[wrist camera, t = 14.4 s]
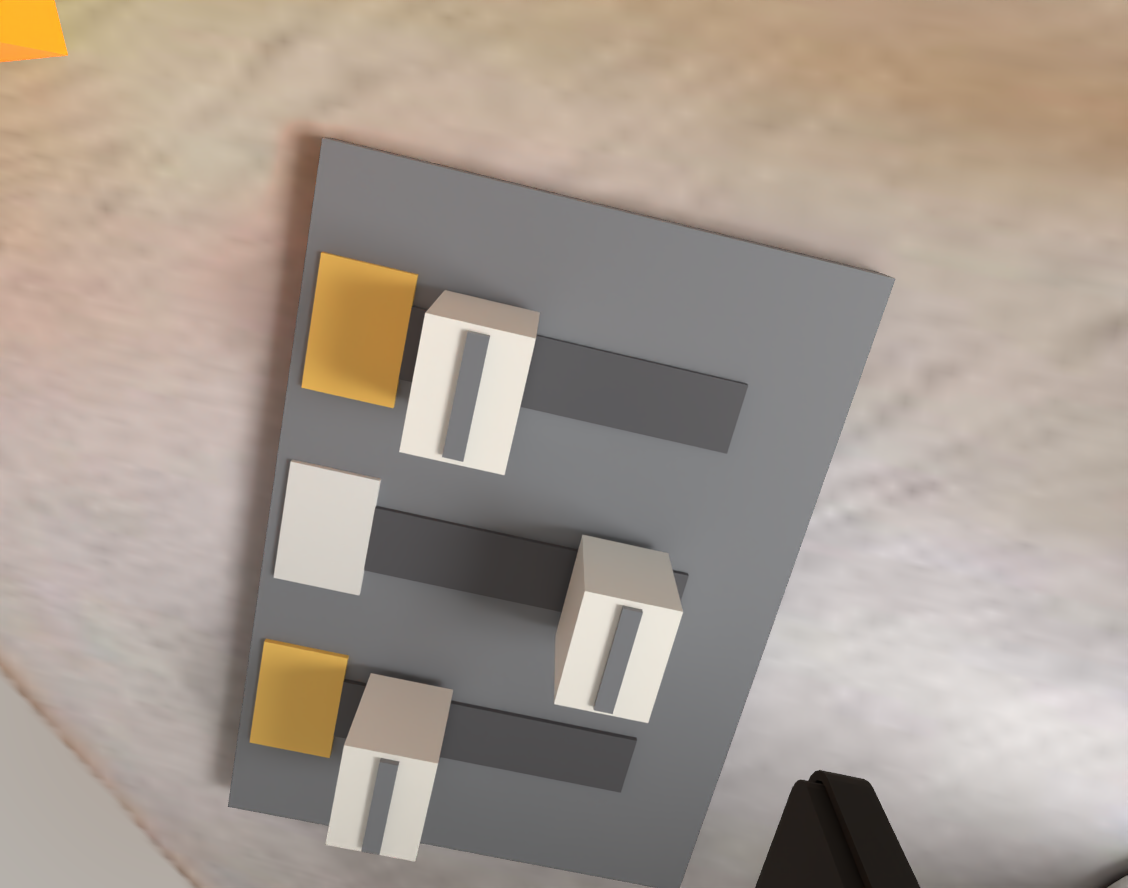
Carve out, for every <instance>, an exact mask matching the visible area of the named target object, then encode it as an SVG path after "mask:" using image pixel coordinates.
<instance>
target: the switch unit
mask: <svg viewBox="0 0 1128 888" xmlns="http://www.w3.org/2000/svg"><path fill="white" fill-rule="evenodd" d="M894 281H895V278H892V277H890V276H887V275H885V274H882V273H878V272H874V271H870V270H866V269H861V268H857V267H853V266H849V265H845V264H841V263H837V262H833V261H829V260H825V259H821V258H817V257H813V256H809V255H805V254H801V253H796V252H792V251H788V250H784V249H780V248H776V247H772V246H768V245H764V244H760V243H756V242H752V241H748V240H744V239H740V238H735V237H731V236H727V235H723V234H719V233H715V232H711V231H707V230H703V229H699V228H695V227H691V226H687V225H683V224H679V223H674V222H670V221H666V220H662V219H658V218H654V217H650V216H646V215H642V214H638V213H634V212H630V211H626V210H622V209H618V208H614V207H609V206H605V205H601V204H597V203H593V202H589V201H585V200H581V199H577V198H573V197H569V196H565V195H561V194H557V193H553V192H548V191H544V190H540V189H536V188H532V187H528V186H524V185H520V184H516V183H512V182H508V181H504V180H500V179H496V178H492V177H487V176H483V175H479V174H475V173H471V172H467V171H463V170H459V169H455V168H451V167H447V166H443V165H439V164H435V163H431V162H427V161H422V160H418V159H414V158H410V157H406V156H402V155H398V154H394V153H390V152H386V151H382V150H378V149H374V148H370V147H366V146H361V145H357V144H353V143H349V142H345V141H341V140H337V139H333V138H322V143H321V150H320V157H319V165H318V172H317V179H316V186H315V193H314V200H313V207H312V214H311V221H310V228H309V235H308V243H307V250H306V257H305V264H304V271H303V278H302V285H301V292H300V299H299V306H298V314H297V321H296V328H295V335H294V342H293V349H292V356H291V363H290V370H289V377H288V384H287V392H286V399H285V406H284V413H283V420H282V427H281V434H280V441H279V448H278V455H277V462H276V470H275V477H274V484H273V491H272V498H271V505H270V512H269V519H268V526H267V533H266V541H265V548H264V555H263V562H262V569H261V576H260V583H259V590H258V597H257V604H256V611H255V619H254V626H253V633H252V640H251V647H250V654H249V661H248V668H247V675H246V682H245V690H244V697H243V704H242V711H241V718H240V725H239V732H238V739H237V746H236V753H235V760H234V768H233V775H232V782H231V789H230V796H229V803H228V807H232V808H238V809H243V810H248V811H253V812H259V813H264V814H269V815H275V816H280V817H285V818H290V819H296V820H301V821H306V822H312V823H317V824H322V825H327V826H329V823H330V817H331V812H332V807H333V801H334V796H335V791H336V785H337V780H338V775H339V769H340V764H341V759H342V753H343V748H344V744H345V741H346V739H347V736H348V733H349V730H350V728H351V725H352V722H353V720H354V717H355V714H356V712H357V709H358V706H359V704H360V701H361V698H362V696H363V693H364V690H365V687H366V685H367V682H368V679H369V677H370V674H371V673H373V674H378V675H383V676H388V677H392V678H397V679H402V680H407V681H412V682H417V683H422V684H427V685H432V686H437V687H442V688H447V689H452V690H453V694H452V699H451V704H450V709H449V713H448V718H447V723H446V728H445V733H444V737H443V742H442V747H441V752H440V757H439V761H438V766H437V770H436V775H435V779H434V783H433V788H432V792H431V797H430V801H429V805H428V810H427V814H426V818H425V823H424V827H423V831H422V836H421V840H420V843H422V844H428V845H433V846H438V847H444V848H449V849H454V850H459V851H465V852H470V853H475V854H481V855H486V856H491V857H496V858H502V859H507V860H512V861H518V862H523V863H528V864H533V865H539V866H544V867H549V868H555V869H560V870H565V871H570V872H576V873H581V874H586V875H592V876H597V877H602V878H607V879H613V880H618V881H623V882H629V883H634V884H639V885H644V886H650V887H655V888H680V886H681V883H682V880H683V877H684V874H685V872H686V869H687V866H688V863H689V860H690V858H691V855H692V852H693V849H694V846H695V843H696V841H697V838H698V835H699V832H700V829H701V826H702V824H703V821H704V818H705V815H706V812H707V810H708V807H709V804H710V801H711V798H712V795H713V793H714V790H715V787H716V784H717V781H718V778H719V776H720V773H721V770H722V767H723V764H724V762H725V759H726V756H727V753H728V750H729V747H730V745H731V742H732V739H733V736H734V733H735V730H736V728H737V725H738V722H739V719H740V716H741V713H742V711H743V708H744V705H745V702H746V699H747V697H748V694H749V691H750V688H751V685H752V682H753V680H754V677H755V674H756V671H757V668H758V665H759V663H760V660H761V657H762V654H763V651H764V649H765V646H766V643H767V640H768V637H769V634H770V632H771V629H772V626H773V623H774V620H775V617H776V615H777V612H778V609H779V606H780V603H781V601H782V598H783V595H784V592H785V589H786V586H787V584H788V581H789V578H790V575H791V572H792V569H793V567H794V564H795V561H796V558H797V555H798V552H799V550H800V547H801V544H802V541H803V538H804V536H805V533H806V530H807V527H808V524H809V521H810V519H811V516H812V513H813V510H814V507H815V504H816V502H817V499H818V496H819V493H820V490H821V488H822V485H823V482H824V479H825V476H826V473H827V471H828V468H829V465H830V462H831V459H832V456H833V454H834V451H835V448H836V445H837V442H838V440H839V437H840V434H841V431H842V428H843V425H844V423H845V420H846V417H847V414H848V411H849V408H850V406H851V403H852V400H853V397H854V394H855V391H856V389H857V386H858V383H859V380H860V377H861V375H862V372H863V369H864V366H865V363H866V360H867V358H868V355H869V352H870V349H871V346H872V343H873V341H874V338H875V335H876V332H877V329H878V327H879V324H880V321H881V318H882V315H883V312H884V310H885V307H886V304H887V301H888V298H889V295H890V293H891V290H892V287H893V284H894ZM444 290H447V291H451V292H456V293H460V294H464V295H468V296H473V297H477V298H481V299H485V300H490V301H494V302H498V303H502V304H507V305H511V306H515V307H519V308H524V309H528V310H532V311H536V312H540V316H539V322H538V328H537V335H536V340H535V345H534V349H533V353H532V358H531V362H530V367H529V371H528V375H527V380H526V384H525V388H524V393H523V397H522V401H521V406H520V410H519V414H518V419H517V423H516V427H515V432H514V436H513V440H512V445H511V449H510V454H509V458H508V462H507V467H506V471H505V475H501V474H496V473H492V472H487V471H483V470H478V469H474V468H469V467H465V466H460V465H456V464H451V463H447V462H442V461H438V460H433V459H429V458H424V457H420V456H415V455H411V454H406V453H402V452H399V450H400V445H401V439H402V434H403V429H404V423H405V418H406V413H407V407H408V402H409V397H410V391H411V386H412V381H413V375H414V370H415V365H416V359H417V354H418V349H419V343H420V338H421V333H422V327H423V322H424V317H425V312H426V311H427V310H428V309H429V308H430V307H431V306H432V304H433V303H434V302H435V301H436V300H437V299H438V297H439V296H440V295H441V294H442V293H443V292H444ZM582 535H587V536H591V537H596V538H601V539H605V540H610V541H614V542H619V543H624V544H628V545H633V546H637V547H642V548H647V549H651V550H656V551H660V552H665V553H668V554H669V558H670V562H671V566H672V570H673V574H674V578H675V582H676V586H677V590H678V594H679V598H680V601H681V605H682V609H683V614H682V617H681V620H680V624H679V627H678V630H677V633H676V636H675V639H674V643H673V646H672V649H671V652H670V655H669V658H668V662H667V665H666V668H665V671H664V674H663V678H662V681H661V684H660V687H659V690H658V693H657V697H656V700H655V703H654V706H653V709H652V712H651V716H650V719H649V722H648V723H645V722H640V721H635V720H630V719H625V718H620V717H615V716H610V715H605V714H601V713H596V712H591V711H586V710H581V709H576V708H571V707H566V706H561V705H556V704H554V681H555V636H556V632H557V628H558V624H559V621H560V617H561V613H562V609H563V606H564V602H565V598H566V594H567V591H568V587H569V583H570V579H571V575H572V572H573V568H574V564H575V560H576V557H577V553H578V549H579V545H580V542H581V538H582Z"/></svg>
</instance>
